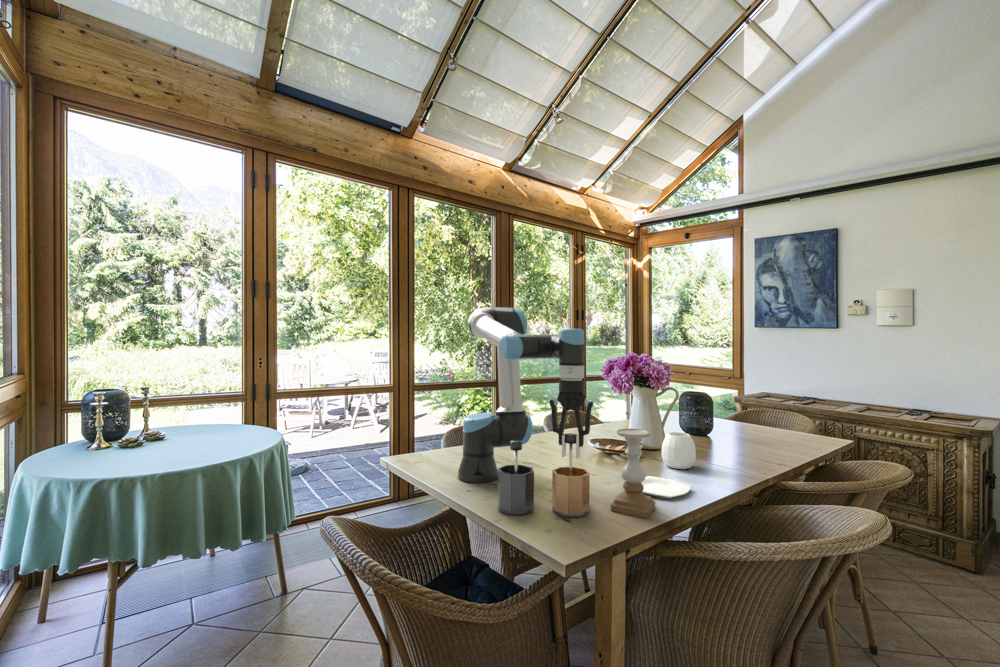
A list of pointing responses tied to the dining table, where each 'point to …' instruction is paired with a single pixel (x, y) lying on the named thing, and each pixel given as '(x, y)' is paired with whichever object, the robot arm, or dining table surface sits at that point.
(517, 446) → the steel plunger
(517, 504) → the steel carafe
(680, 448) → the cup
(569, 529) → the dining table surface
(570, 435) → the copper plunger
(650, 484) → the plate
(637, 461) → the candle holder
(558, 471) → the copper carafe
